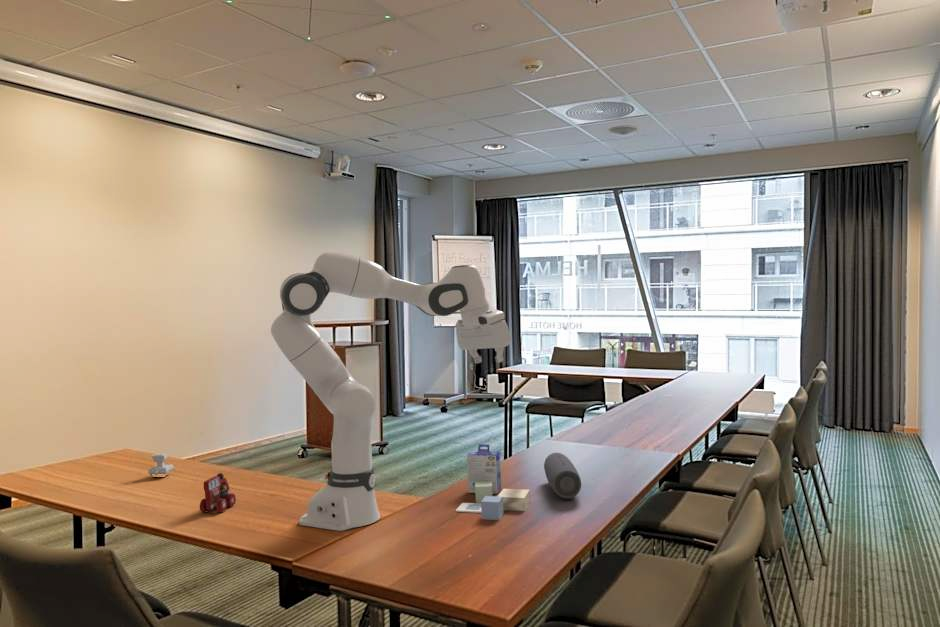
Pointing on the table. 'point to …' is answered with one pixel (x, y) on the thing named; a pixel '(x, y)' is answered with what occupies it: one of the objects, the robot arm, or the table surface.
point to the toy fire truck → (217, 494)
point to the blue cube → (492, 507)
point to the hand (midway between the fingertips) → (489, 362)
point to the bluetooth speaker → (562, 475)
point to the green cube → (482, 490)
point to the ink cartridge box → (484, 468)
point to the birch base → (515, 499)
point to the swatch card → (469, 507)
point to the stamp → (160, 465)
